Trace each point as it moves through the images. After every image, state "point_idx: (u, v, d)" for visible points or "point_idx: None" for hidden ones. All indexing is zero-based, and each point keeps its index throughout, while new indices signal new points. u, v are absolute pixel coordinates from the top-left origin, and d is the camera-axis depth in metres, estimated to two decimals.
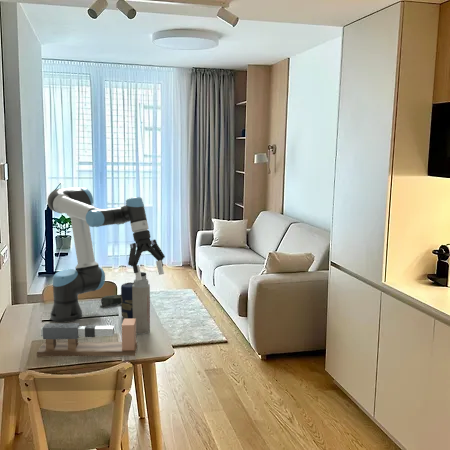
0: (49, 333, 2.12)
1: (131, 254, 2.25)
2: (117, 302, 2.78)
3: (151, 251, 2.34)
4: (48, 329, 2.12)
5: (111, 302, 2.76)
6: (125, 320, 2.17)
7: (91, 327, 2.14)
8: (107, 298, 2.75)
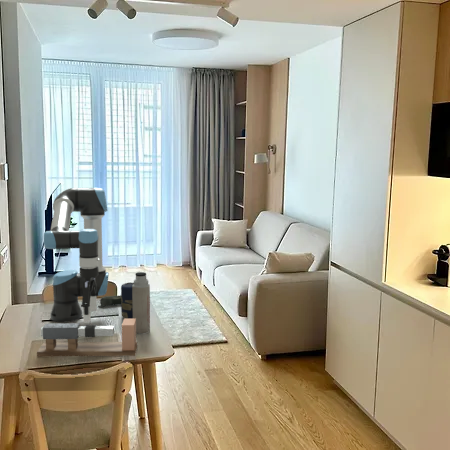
0: (49, 333, 2.12)
1: (85, 294, 2.04)
2: (116, 303, 2.77)
3: None
4: (48, 329, 2.12)
5: (110, 303, 2.75)
6: (125, 320, 2.17)
7: (91, 327, 2.14)
8: (106, 299, 2.74)
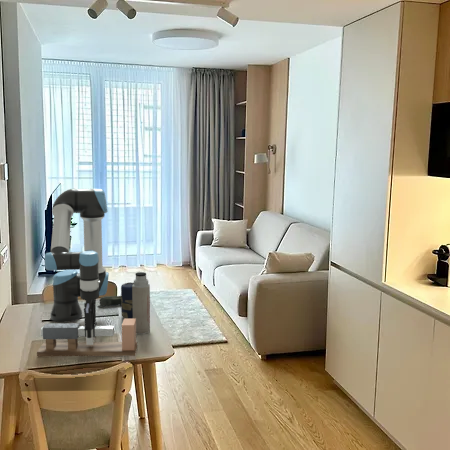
0: (49, 333, 2.12)
1: (87, 320, 2.09)
2: (115, 303, 2.76)
3: (91, 311, 2.16)
4: (48, 329, 2.12)
5: (109, 303, 2.74)
6: (125, 320, 2.17)
7: None
8: (105, 299, 2.74)
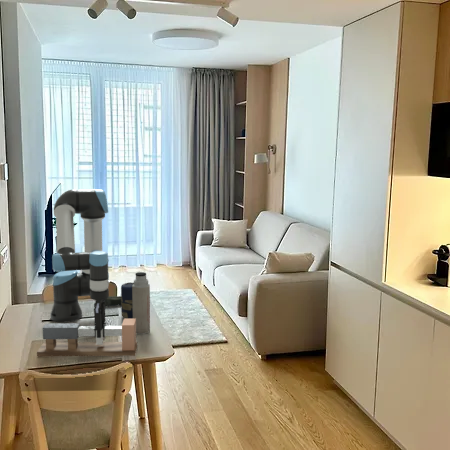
0: (49, 333, 2.12)
1: (97, 320, 2.09)
2: (115, 303, 2.75)
3: (101, 311, 2.16)
4: (48, 329, 2.12)
5: (108, 303, 2.74)
6: (125, 320, 2.17)
7: None
8: None
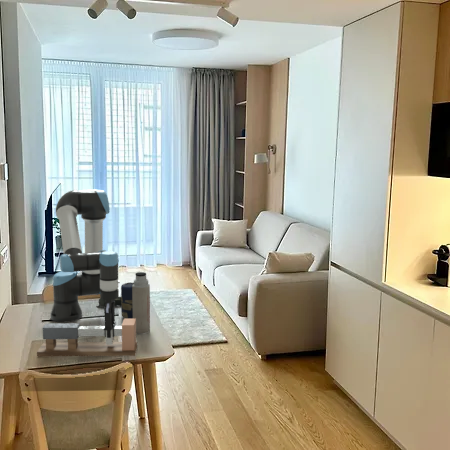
0: (49, 333, 2.12)
1: (107, 320, 2.09)
2: None
3: (110, 311, 2.16)
4: (48, 329, 2.12)
5: None
6: (125, 320, 2.17)
7: None
8: None
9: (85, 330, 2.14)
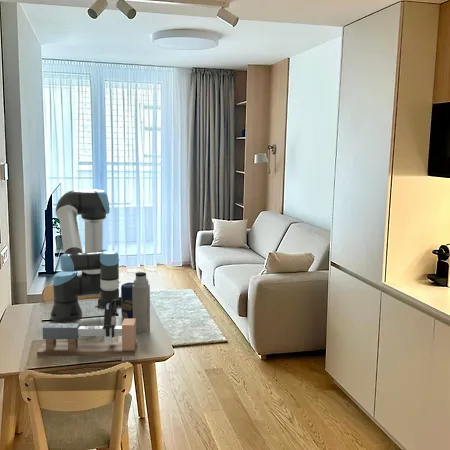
0: (49, 333, 2.12)
1: (107, 317, 2.07)
2: None
3: None
4: (48, 329, 2.12)
5: None
6: (125, 320, 2.17)
7: None
8: (103, 299, 2.73)
9: (85, 330, 2.14)
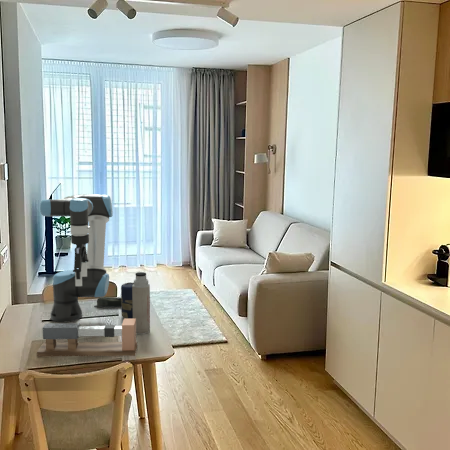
0: (49, 333, 2.12)
1: (77, 260, 2.16)
2: (112, 305, 2.73)
3: None
4: (48, 329, 2.12)
5: (105, 304, 2.73)
6: (125, 320, 2.17)
7: (110, 327, 2.15)
8: (102, 299, 2.73)
9: (85, 330, 2.14)
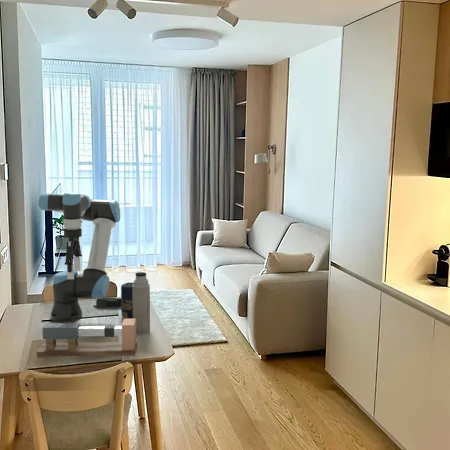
0: (49, 333, 2.12)
1: (69, 253, 2.18)
2: (111, 305, 2.73)
3: (75, 248, 2.30)
4: (48, 329, 2.12)
5: (104, 304, 2.72)
6: (125, 320, 2.17)
7: (110, 327, 2.15)
8: (101, 299, 2.72)
9: (85, 330, 2.14)
